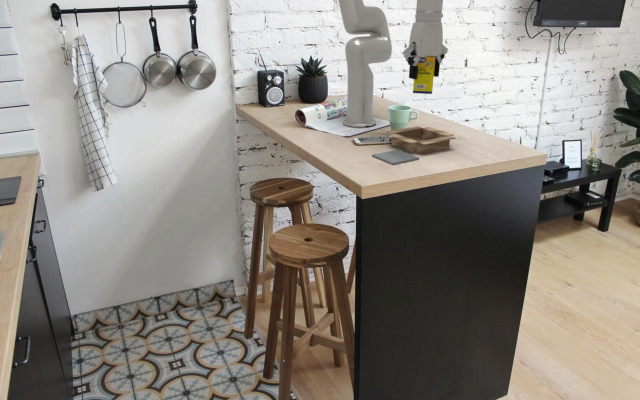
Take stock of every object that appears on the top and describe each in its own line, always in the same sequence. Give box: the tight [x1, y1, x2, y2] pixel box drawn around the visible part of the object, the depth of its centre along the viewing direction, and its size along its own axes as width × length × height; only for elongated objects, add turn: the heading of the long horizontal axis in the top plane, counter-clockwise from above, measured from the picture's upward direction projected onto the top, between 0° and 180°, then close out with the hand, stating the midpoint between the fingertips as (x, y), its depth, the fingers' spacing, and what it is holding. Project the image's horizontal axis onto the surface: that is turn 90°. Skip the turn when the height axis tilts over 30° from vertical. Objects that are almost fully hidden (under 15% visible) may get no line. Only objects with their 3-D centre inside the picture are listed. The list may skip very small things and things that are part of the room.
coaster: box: [371, 149, 420, 166], centre depth 157 cm, size 10×10×1 cm
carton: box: [386, 125, 457, 155], centre depth 168 cm, size 18×18×4 cm
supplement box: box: [412, 57, 435, 95], centre depth 161 cm, size 6×6×11 cm
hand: (423, 77), depth 161 cm, fingers closed on supplement box, 8 cm apart
